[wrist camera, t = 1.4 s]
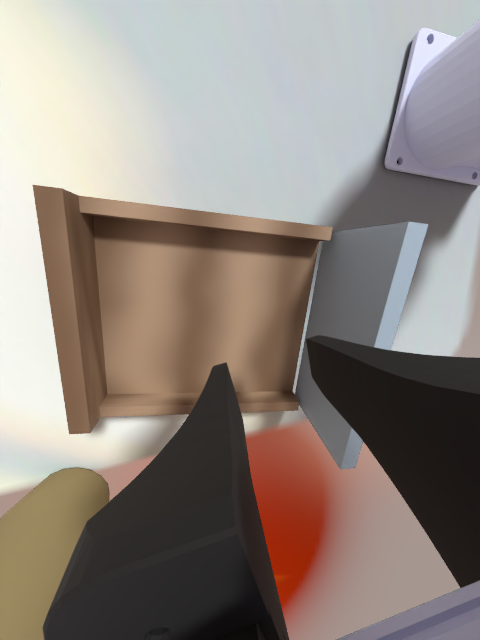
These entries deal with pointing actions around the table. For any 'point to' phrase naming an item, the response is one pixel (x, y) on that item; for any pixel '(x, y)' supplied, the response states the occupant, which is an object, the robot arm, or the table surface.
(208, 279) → the tray
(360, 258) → the panel
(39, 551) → the squeeze bottle
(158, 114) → the table surface
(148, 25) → the table surface
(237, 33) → the table surface
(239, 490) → the robot arm
